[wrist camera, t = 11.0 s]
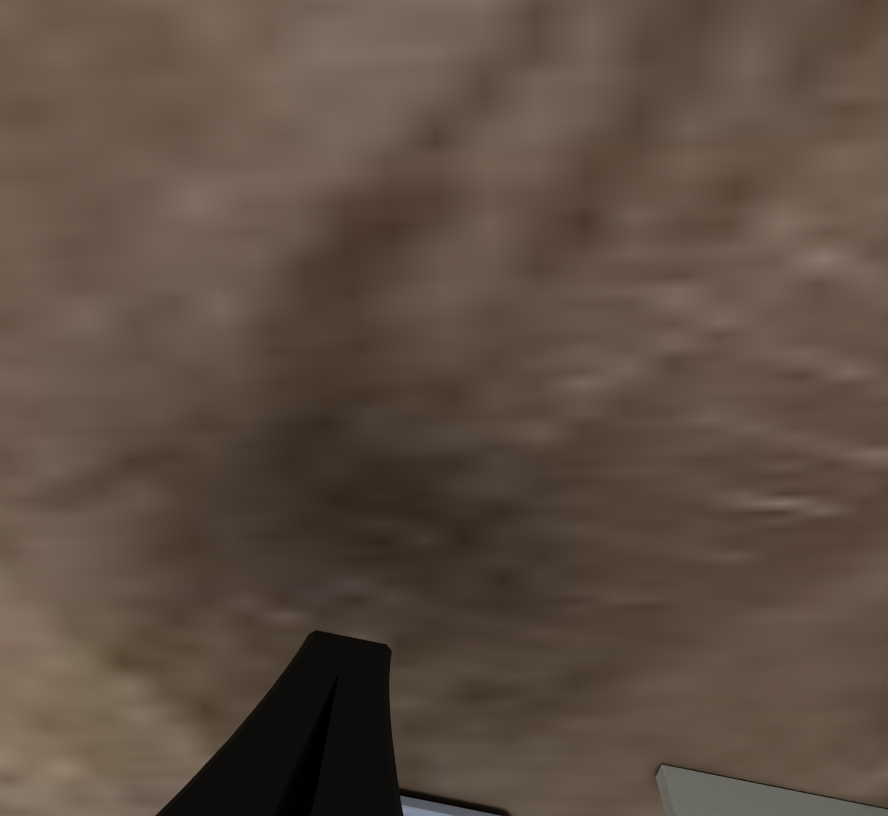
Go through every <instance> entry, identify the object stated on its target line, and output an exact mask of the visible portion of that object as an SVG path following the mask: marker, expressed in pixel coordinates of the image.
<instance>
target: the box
mask: <svg viewBox="0 0 888 816" xmlns="http://www.w3.org/2000/svg"><path fill="white" fill-rule="evenodd" d="M656 780H657V784H658V788H659V792H660V796H661V799H662V803H663V807H664V811H665V815H666V816H888V810H887V809H882V808H877V807H872V806H867V805H862V804H857V803H852V802H847V801H842V800H837V799H832V798H827V797H822V796H817V795H812V794H807V793H802V792H797V791H792V790H787V789H782V788H777V787H772V786H767V785H762V784H757V783H752V782H747V781H742V780H737V779H732V778H727V777H722V776H717V775H712V774H707V773H702V772H697V771H692V770H687V769H682V768H677V767H672V766H667V765H662V764H661V766H660V769H659V771H658V773H657V775H656Z"/></svg>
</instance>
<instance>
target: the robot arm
mask: <svg viewBox="0 0 888 816" xmlns="http://www.w3.org/2000/svg"><path fill="white" fill-rule="evenodd" d="M391 653H392V651H391V649H390V648H389V647H388V646H387V644H382V643H377V642H372V641H367V640H362V639H357V638H352V637H347V636H342V635H337V634H332V633H327V632H322V631H317V630H316V631H314V632H312V633H310V634H309V635H308V636H307V638H306V640H305V641H304V643H303V645H302V646H301V648H300V649H299V651H298V652H297V654H296V655H295V657H294V658H293V660H292V661H291V662H290V664H289V665H288V667H287V668H286V669H285V671H284V672H283V673H282V675H281V676H280V677H279V679H278V680H277V681H276V683H275V684H274V685H273V686H272V688H271V689H270V690H269V692H268V693H267V694H266V696H265V697H264V698H263V699H262V700H261V702H260V703H259V704H258V705H257V706H256V708H255V709H254V710H253V711H252V712H251V714H250V715H249V716H248V717H247V718H246V720H245V721H244V722H243V723H242V724H241V726H240V727H239V728H238V729H237V730H236V731H235V733H234V734H233V735H232V736H231V737H230V738H229V739H228V741H227V742H226V743H225V744H224V745H223V746H222V747H221V748H220V749H219V750H218V751H217V752H216V754H215V755H214V756H213V757H212V758H211V759H210V760H209V761H208V762H207V763H206V764H205V765H204V767H203V768H202V769H201V770H200V771H199V772H198V773H197V774H196V775H195V776H194V777H193V778H192V779H191V781H190V782H189V783H188V784H187V785H186V786H185V787H184V788H183V789H182V790H181V791H180V792H179V793H178V794H177V795H176V796H175V797H174V798H173V799H172V800H171V801H170V802H169V803H168V804H167V805H166V806H165V807H164V808H163V809H162V810H161V811H160V812H159V813H158V814H157V815H156V816H501V815H496V814H491V813H486V812H481V811H476V810H471V809H466V808H461V807H456V806H451V805H446V804H441V803H436V802H430V801H425V800H420V799H415V798H410V797H405V796H400V792H399V786H398V779H397V772H396V764H395V756H394V748H393V740H392V730H391V719H390V700H389V672H390V659H391Z"/></svg>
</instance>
